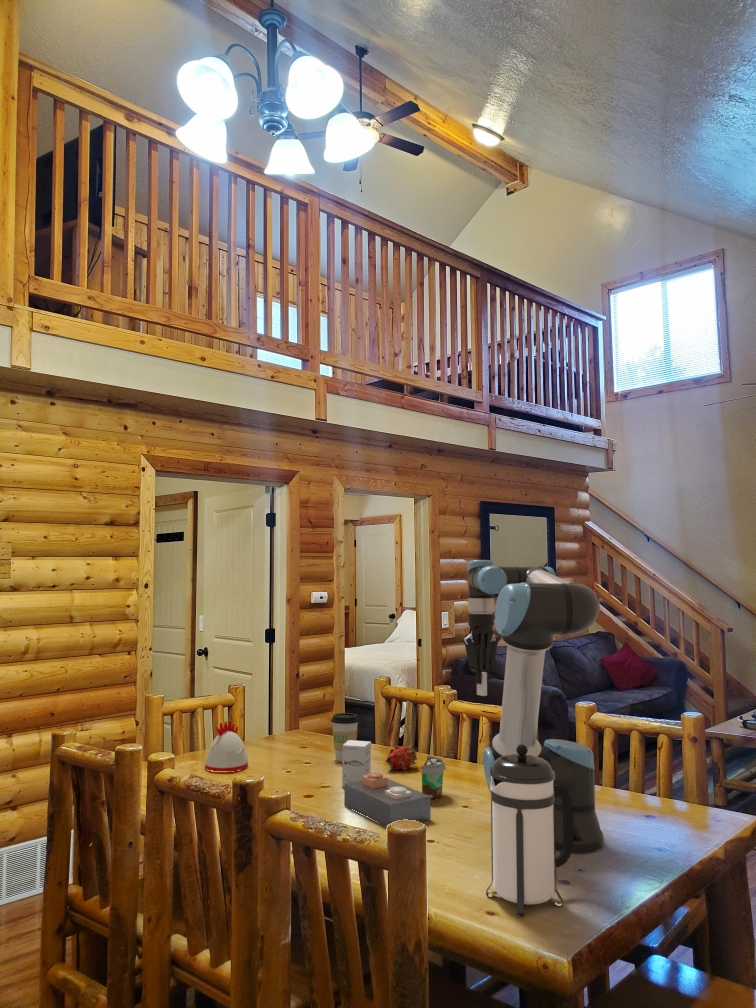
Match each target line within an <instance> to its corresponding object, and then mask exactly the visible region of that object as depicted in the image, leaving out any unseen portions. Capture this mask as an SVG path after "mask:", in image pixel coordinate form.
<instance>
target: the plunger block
mask: <svg viewBox="0 0 756 1008" xmlns="http://www.w3.org/2000/svg"><path fill="white" fill-rule="evenodd" d="M392 787H404V788H406V789H407V791H410V792H411V796H410V797H405V798H401V799H393V798H391V797H389V796H387V795H385V790H390V788H392ZM343 788H344V795H343V796H344V797H343V799H344V800H343V802H344V805H345V806H347V807H349V808H351V809H353V810H355V811H357V812H359V813H361V814H363V815H365V816H368V817H369V818H371V819H373V820H375V821H377V822H379V823H380V824H381V825H380V824H379V825H380V826H382V825H383V826H382V827H384V826H385V828H386V826H387V825H388V824H390V823H392V822H394V821H397V820H403V819H408V820H416V821H419V823H424V822H427V821H431V818H432V817H431V816H432V815H431V813H432V811H431V802H432V801H431V799H430V796H429V795H426V794H424V793H422V791H420V790H417V789H414V788H412V787H409V786H407V785H405V784H402V783H399V782H397V781H395V780H393V779H389V778H388V786H385V787H380V788H375V789H371V788H369V787H367V786H364V785H362V781H357V782H351V783H346V784H345V786H344V787H343ZM344 805H343V806H344ZM345 806H344V807H345ZM347 807H346V808H347ZM349 808H348V809H349ZM351 809H350V810H351ZM353 810H352V811H353ZM355 811H354V812H355ZM357 812H356V813H357ZM359 813H358V814H359ZM361 814H360V815H361ZM363 815H362V816H363ZM365 816H364V817H365ZM369 818H368V819H369Z"/></svg>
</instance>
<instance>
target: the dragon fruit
mask: <svg viewBox="0 0 756 1008" xmlns="http://www.w3.org/2000/svg"><path fill="white" fill-rule="evenodd" d="M385 762H386V763H387V764H388V765H389V768H390V770H391V771H392V770H395V771H398V770H400V769H402V770H403V771H404V772H405V771H406V770H408V769H409V770H410V768H411V766H414V765H416V764H417V750H415V748H413V746H411V745H409V746H406V745H405V744H404V743H403V744H402V746H400V745H396V746H394V748H391V749H390V750H389V753H388V756H387V759H386V761H385Z"/></svg>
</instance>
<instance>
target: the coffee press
mask: <svg viewBox="0 0 756 1008" xmlns="http://www.w3.org/2000/svg"><path fill="white" fill-rule="evenodd" d="M516 751H517V753H518V754H512V755H505V756H502V757H500V758H498V759H497V760H496V761H495V762H494V764H493V767H491V768H490V775H491V785H490V790H491V793H490V799H491V800H490V811H491V812H490V820H491V821H490V822H491V823H490V825H491V826H490V827H491V828H490V830H491V833H490V835H491V836H490V837H491V883H490V884H489V885H488V887H487V888H486V891H485V895H486V896H487V897H488V893H489V890H490V889H491V887H492V885H493V888H494V892H493V893H492V894H493V895H492V896H493V897H494V896H495V895H496V894H497V895H498V896H500V897H501V898H503V899H504V900H506V901H509V902H511V903H514V904H516V916H517V915H519V916H518V917H522V916H524V917H525V910H526V909H525V908H526V905H539V904H542V903H546V902H548V901H549V900H550V901H551V902H552V903H553V904H554V905H555V903H556V902H557V901H556V899H555V898H554V897H553V896H554V895H555V894H556V896H557V897H558V898H559V900H560V901H561V902H562V905H563V904H564V898H563V897H562V895H561V894H560V892H559V891H558V888H557V887H558V886H557V868H560V867H562V866H563V865H565V864H566V863H567V862H568V861H569V859H570V857H571V855H572V853H571V852H572V847H573V815H572V802H571V797H570V795H569V793H568V791H567V790H566V789H565V788H564V787H562V786H559V785H553V781H554V779H555V772H554V771H553V770H552V767H551V765H550V764H549V763H548V762H547V761H546V760H544V759H542V758H540V757H536V756H532V755H526V754H527V751H528V750H527V747H526V746H525V745H523V744H520V745H518V746H517V749H516ZM555 794H558V795H559V796H560V797H561V800H562V805H563V848H562V851H560V853H559V854H558V855H557V853H556V851H557V850H556V839H555ZM554 845H555V850H554Z"/></svg>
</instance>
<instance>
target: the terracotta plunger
mask: <svg viewBox="0 0 756 1008" xmlns="http://www.w3.org/2000/svg"><path fill="white" fill-rule="evenodd" d="M388 779H389V778H388V777H387V776H385V775H384V774H383V773H382V772H378V771H377V772H375V771H372V772H371V771H370V773H368V774H367V775H365V776H363V780H362V785H364V786H367V787H369V788H371V789H375V788H380V787H385V786H388Z"/></svg>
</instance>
